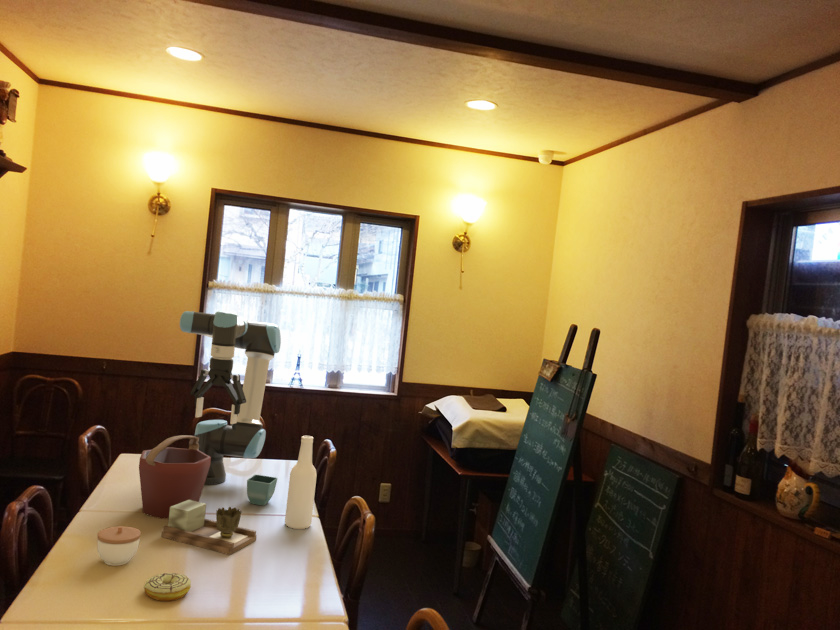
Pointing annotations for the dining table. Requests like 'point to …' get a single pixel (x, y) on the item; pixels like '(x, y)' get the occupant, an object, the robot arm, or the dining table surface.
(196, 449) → the bucket
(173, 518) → the brown wooden tray
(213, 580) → the dining table surface
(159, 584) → the decorated donut
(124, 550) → the lidded jar
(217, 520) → the cup
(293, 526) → the alcohol
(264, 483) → the flower pot
